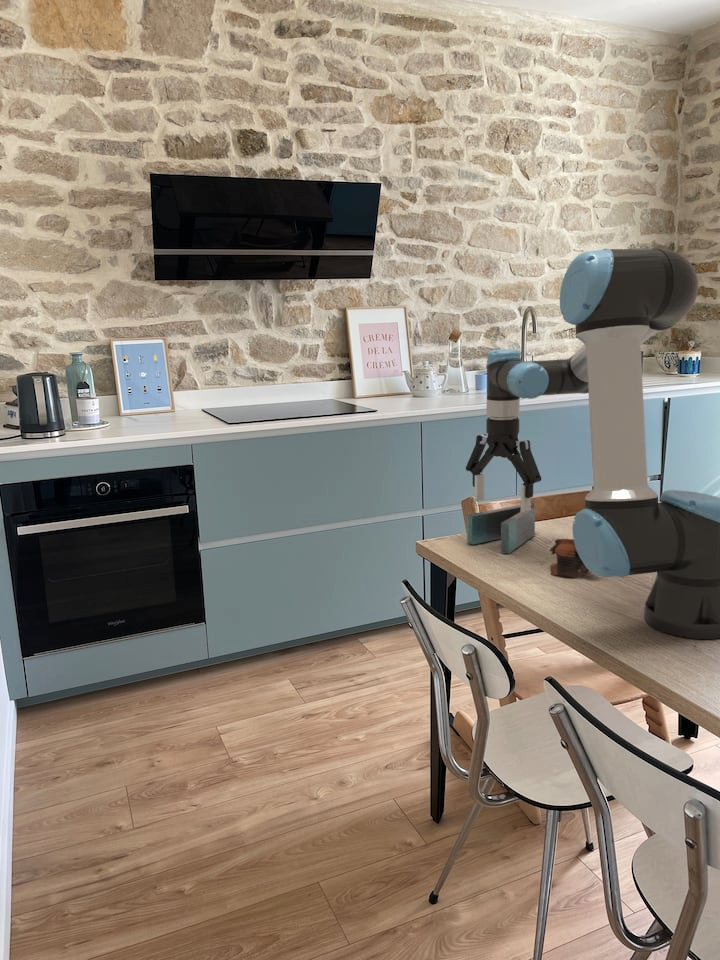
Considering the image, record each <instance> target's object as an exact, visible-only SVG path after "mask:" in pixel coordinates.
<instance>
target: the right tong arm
mask: <svg viewBox="0 0 720 960" xmlns="http://www.w3.org/2000/svg"><path fill="white" fill-rule="evenodd" d="M535 522H536V507H534V508H531V507H530V510H528V511H525V512H519V513H518V514H516V515H514V516H513V517H511V518H509V519H508V520H506V521H504V522H503V523H501V539H500V545H501V546H500V547H501V548H500V553H502V554H511V552H513V551H515V550H516V549H517V548H519V547H520V546H522V545H524V543H526V542H527V541H529V540H530V539H532V538H533V537H534V536H535V535H536V533H535V532H536V530H535V529H536V526H535V525H536V523H535Z"/></svg>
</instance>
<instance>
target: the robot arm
mask: <svg viewBox="0 0 720 960" xmlns="http://www.w3.org/2000/svg"><path fill="white" fill-rule="evenodd" d="M698 279H699V278H698V274H697V272H696V270H695V268H694V265H693V264H692V263H691V262H690V260H689V259H688V258H687V257H685V256H684V255H682V254H681V253H679V252H677V251H674V250H671V249H667V248H650V249H649V248H643V249H642V248H641V249H640V248H637V249H635V248H632V249H630V248H624V249H623V248H621V249H620V248H603V249H597V250H589V251H587V250H586V251H584V252H581V253H579V254H578V255H577V256H575V257H574V259H572V261H571V262H570V263H569V265H568V267H567V269H566V271H565V273H564V275H563V279H562V282H561V286H560V291H559V292H560V293H559V309H560V313H561V314H562V318H563V320H564V321H565V322H566V323H567V324H570V325H573V326H574V325H575V337H576V338H577V339H578V340H579V341H580V342H582V343H583V345H582V346H581V347H580V348H579V349H578V350H577V351H575V352H574V354H573V355H572V356H571V357H570V358H564V359H563V358H562V359H549V360H547V359H546V360H528V361H527V360H525V361H524V360H522V358H521V352H520V351H519V350H518V349H514V348H511V349H510V348H509V349H508V348H507V349H501V348H500V349H492V350H490V351H489V352H488V353H487V357H486V358H487V359H486V366H485V368H486V412H485V413H486V414H485V415H486V416H487V418H486V422H485V423H486V426H485V427H486V430H485V431H486V433H482V434H479V435H478V434H477V435H476V439H475V445H474V447H473V450H472V452H471V454H470V457H469V459H468V461H467V464H466V466H465V470H466V471H467V472H470V473H471V474H472V487H473V488H474V502H476V503H477V502H481V501H483V500H485V473H483V472H484V470H485V468H486V467H487V466H488V464H490V462H491V461H492V459H493V458H494V457H501V458H504V459H505V458H507V460H508V461H510V462H511V464H512V466H513V467H514V469H515V471H516V472H517V474H518V476H519V477H520V478H521V480H522V482H523V483H521V484H520V505H521V512H525V511H528V510H530V502H531V499H532V498H534V497H533V496H534V484H535V483H539V482H541V481H542V476H541V473H540V471H539V468H538V465H537V462H536V459H535V457H534V455H533V453H532V450H531V442H530V440H529V439H526V440H519V438H518V436H519V434H520V418H519V416H520V407H521V406H520V401H521V399H523V400H525V399H527V400H528V399H529V400H530V399H531V400H533V399H536V398H538V397H540V396H554V395H555V396H556V395H570V394H571V395H574V394H588V409H589V427H590V442H591V443H590V445H591V446H590V448H591V461H592V464H591V465H592V479H593V480H592V481H593V482H592V483H593V487H592V489H591V490H590V491H589V492H588V494H586V496H585V497H584V501H585V503H584V504H585V505H584V506H585V508H583V509H581V510H580V511H577V512H576V514H575V516H574V518H573V519H574V520H573V522H572V538H573V539H574V543H575V547H576V550H577V552H578V554H579V557H580V559H581V560H582V561H583V563H584V565H585V566H586V567H587V568H588V569H589V572H590V573H592V574H593V575H596V576H597V577H601V578H616V577H617V578H626V577H628V576H635V575H642V574H643V575H644V574H652V573H656V578H655V580H654V582H653V585H652V587H651V589H650V591H649V594H648V595H647V597H646V601H645V604H644V608H643V609H644V613H643V619H644V620H645V622H646V623H647V624H648V625H649V626H651V627H652V628H654V629H656V630H657V631H661V632H663V633H666V634H668V635H672V636H676V637H681V638H687V639H696V640H715V639H720V497H719V496H716V495H712V494H707V493H701V492H695V491H690V490H681V489H680V490H675V489H670V490H664V491H663V492H662V493H661V495H660V497H659V493H657V492H656V491H655V490H654V489H652V488H651V487H650V486H649V484H648V468H647V467H648V466H647V463H648V462H647V448H646V430H645V429H646V425H645V409H644V406H645V405H644V390H643V388H644V387H643V386H644V385H643V371H642V369H643V367H642V353H641V352H642V351H641V349H642V348H641V347H642V346H641V345H643V344H644V343H646V341H648V340H649V339H650V338H651V337H653V336H654V335H655V334H656V333H658V332H663V331H664V332H665V331H668V330H669V329H672V328H673V327H674V326H675V325H677V324H678V323H679V322H680V321H681V320H682V319H684V318H685V316H686V315H688V314H689V312H690V311H691V310H692V308H693V307H694V304H695V301H696V299H697V297H698V292H699V280H698ZM486 445H487V446H488V447H487V449H486V450H485V448H486ZM484 450H485V451H484ZM483 452H484V454H483ZM659 500H660V502H659Z"/></svg>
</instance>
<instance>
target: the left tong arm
mask: <svg viewBox="0 0 720 960" xmlns="http://www.w3.org/2000/svg"><path fill="white" fill-rule="evenodd" d="M519 512H521V504H518V505H517V504H516V505H514V506H513V505H512V506H508V507H507V506H506V507H501V508H496V509H490V510H484V511H481V512H480V511H479V512H476V513H469V514H467V515H466V516H467V517H466V521H467V524H466V527H467V530H466V535H467V536H466V537H467V538H466V539H467V540H466V541H467V544H469V545H471V546H473V545H477V544H481V543H485V542H486V543H487V542H491V541H496V540H501V523H503V522H504V521H506V520H508V519H509V518H511V517H513V516H514V515H516V514H518V513H519Z"/></svg>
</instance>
